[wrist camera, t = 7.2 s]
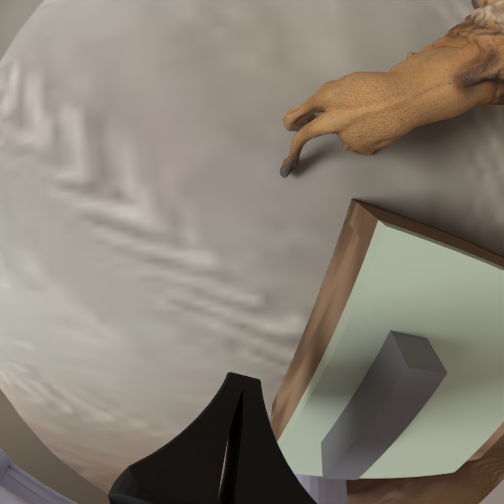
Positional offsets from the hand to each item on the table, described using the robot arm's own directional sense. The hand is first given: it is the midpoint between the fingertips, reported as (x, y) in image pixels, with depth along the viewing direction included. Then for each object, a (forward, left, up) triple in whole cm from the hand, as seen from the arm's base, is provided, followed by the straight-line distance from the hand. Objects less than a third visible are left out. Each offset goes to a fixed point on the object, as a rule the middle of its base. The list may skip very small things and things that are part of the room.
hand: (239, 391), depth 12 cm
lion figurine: (+15, -4, -8) cm, 17 cm away
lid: (0, -11, -2) cm, 12 cm away
